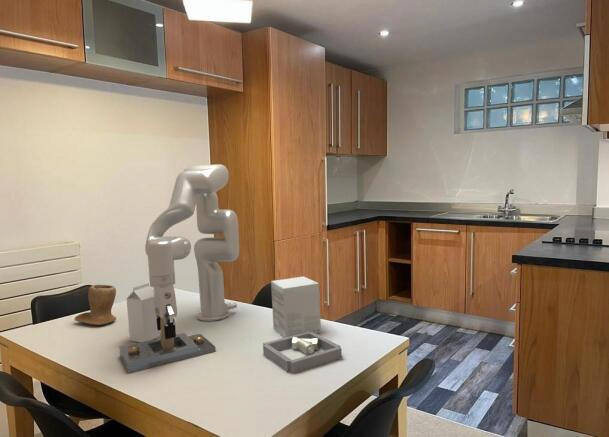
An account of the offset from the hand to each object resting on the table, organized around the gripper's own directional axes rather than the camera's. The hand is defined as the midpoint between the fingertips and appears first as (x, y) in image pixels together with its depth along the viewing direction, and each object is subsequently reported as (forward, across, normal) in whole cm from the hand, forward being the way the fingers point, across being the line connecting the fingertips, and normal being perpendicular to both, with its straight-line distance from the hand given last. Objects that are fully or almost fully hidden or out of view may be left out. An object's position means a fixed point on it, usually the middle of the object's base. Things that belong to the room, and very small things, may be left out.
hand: (166, 333), depth 138 cm
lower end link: (+7, 0, -3) cm, 7 cm away
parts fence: (+7, -27, -33) cm, 43 cm away
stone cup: (+7, +51, +14) cm, 53 cm away
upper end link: (+7, 0, +3) cm, 7 cm away
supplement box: (+7, -7, -43) cm, 44 cm away
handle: (+7, 0, 0) cm, 7 cm away
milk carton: (+7, +19, +3) cm, 20 cm away
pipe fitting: (+7, -25, -36) cm, 44 cm away
